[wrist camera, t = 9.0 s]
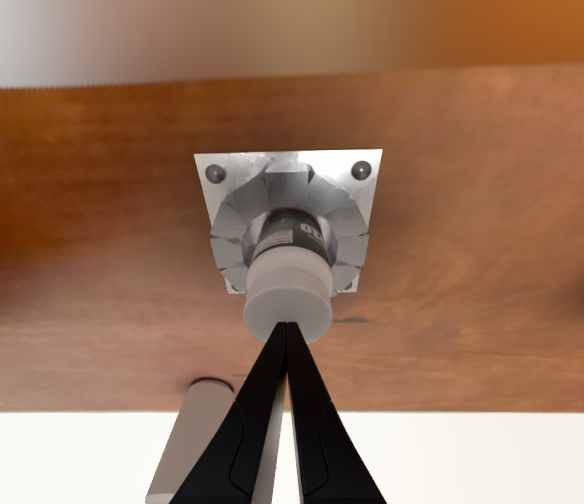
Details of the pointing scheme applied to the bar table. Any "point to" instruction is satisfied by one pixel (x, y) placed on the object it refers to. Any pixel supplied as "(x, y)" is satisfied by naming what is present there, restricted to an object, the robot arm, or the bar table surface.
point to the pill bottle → (289, 277)
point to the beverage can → (189, 437)
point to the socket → (289, 204)
